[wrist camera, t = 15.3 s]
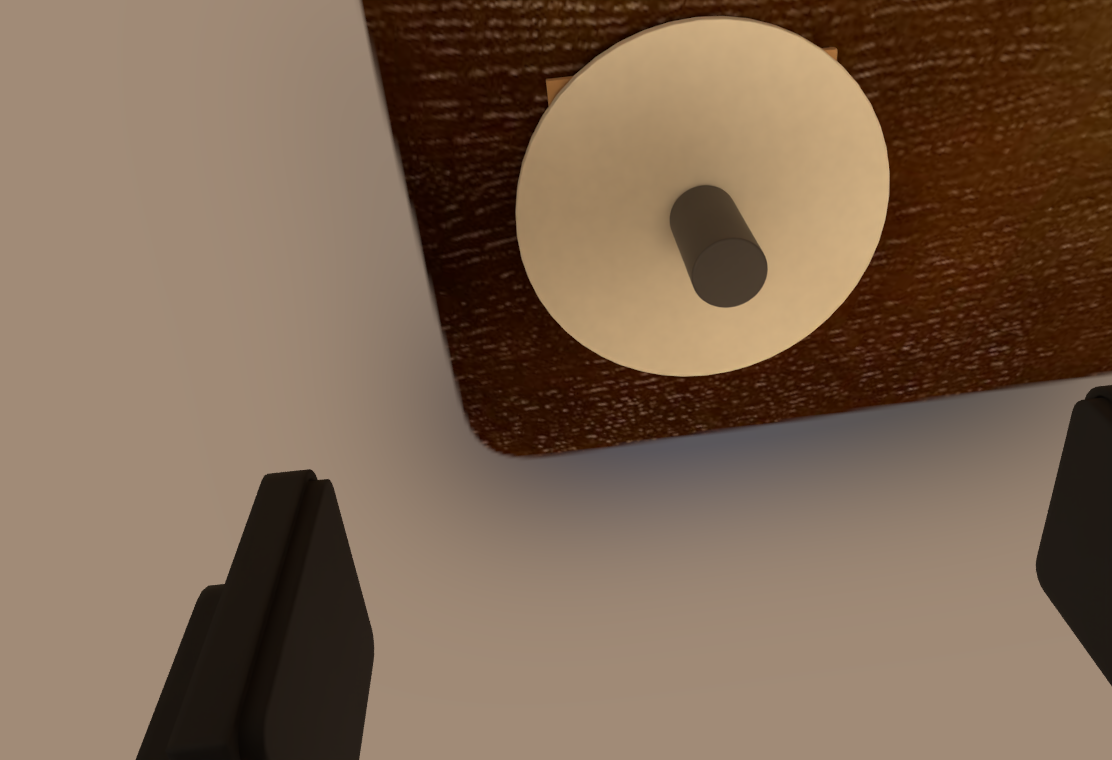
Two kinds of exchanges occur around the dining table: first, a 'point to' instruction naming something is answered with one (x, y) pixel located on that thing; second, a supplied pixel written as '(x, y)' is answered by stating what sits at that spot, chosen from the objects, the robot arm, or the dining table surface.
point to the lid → (702, 196)
